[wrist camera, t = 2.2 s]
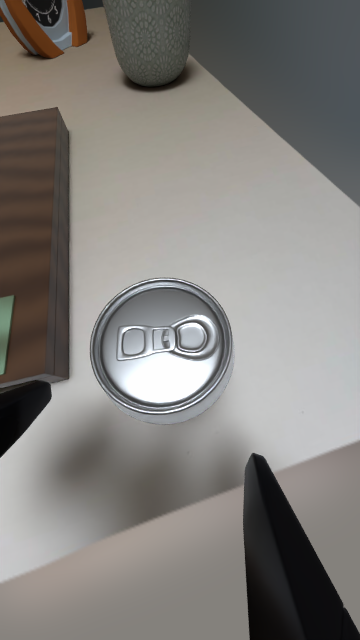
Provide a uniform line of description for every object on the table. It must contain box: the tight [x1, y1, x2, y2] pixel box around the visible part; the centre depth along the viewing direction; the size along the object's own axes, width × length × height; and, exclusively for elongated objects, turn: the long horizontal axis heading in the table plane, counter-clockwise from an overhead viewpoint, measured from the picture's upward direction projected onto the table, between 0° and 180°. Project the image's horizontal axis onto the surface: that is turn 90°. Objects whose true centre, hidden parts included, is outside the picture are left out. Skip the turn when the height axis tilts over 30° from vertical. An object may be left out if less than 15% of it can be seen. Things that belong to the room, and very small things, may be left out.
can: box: [90, 278, 234, 425], centre depth 13 cm, size 6×6×12 cm
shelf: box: [0, 107, 69, 388], centre depth 27 cm, size 48×14×4 cm, turn 13°
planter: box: [103, 0, 191, 86], centre depth 40 cm, size 17×17×15 cm
